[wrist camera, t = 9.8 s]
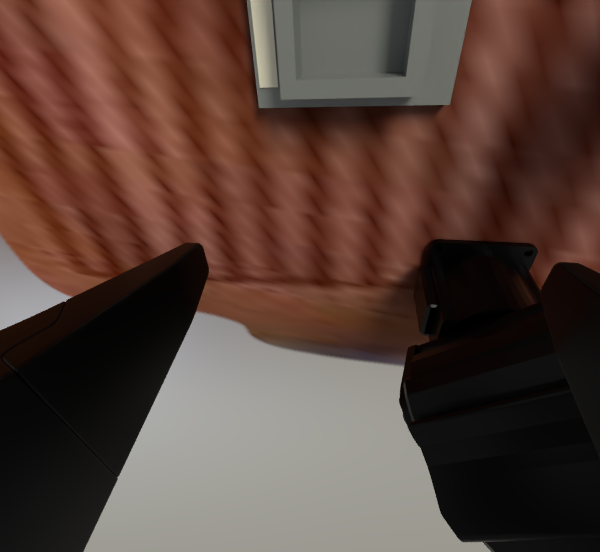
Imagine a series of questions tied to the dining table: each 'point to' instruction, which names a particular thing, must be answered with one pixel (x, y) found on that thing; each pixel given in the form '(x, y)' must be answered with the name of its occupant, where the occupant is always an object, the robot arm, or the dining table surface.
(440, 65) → the socket block
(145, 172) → the dining table surface
